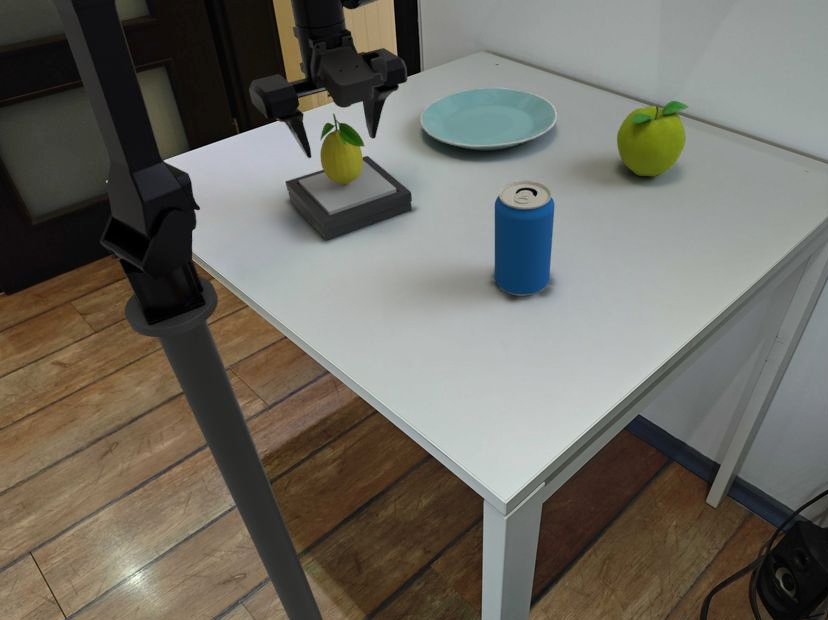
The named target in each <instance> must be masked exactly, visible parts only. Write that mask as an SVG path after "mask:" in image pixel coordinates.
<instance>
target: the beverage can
mask: <svg viewBox="0 0 828 620" xmlns="http://www.w3.org/2000/svg"><path fill="white" fill-rule="evenodd" d="M498 191H499V192H498V196H497V197H496V199H495V202H494V282H495V284H496V285H497V286H498V288H499V289H500V290H503V291H504V292H506V293H508V294H510V295H513V296H517V297H527V296H531V295H535V294H537V293H539V292H541V291H543V290H544V289H545V288H546V287H547V286H548V284H549V282H550V276H551V273H550V272H551V263H552V262H551V259H552V246H553V235H554V234H553V233H554V221H555V220H554V219H555V205H556V204H555V201H554V199H553V197H552V192H551V189H550V188H549V187H548V186H546V185H545V184H543V183H540V182H539V181H533V180H516V181H512V182H509V183H506V184H504V185H503V186H501V188H500V190H498Z"/></svg>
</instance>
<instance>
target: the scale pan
mask: <svg viewBox="0 0 828 620" xmlns="http://www.w3.org/2000/svg"><path fill="white" fill-rule="evenodd" d="M299 185H300V187H301V188H302V189H303V190H304V191H305V192H306V193H307V194H308V195H309V196H310V197H311V198H312V199H313V200H314V201H315V203H316V204H317V205H318V206H319V207H320V208H321V209H322V210H323V211H324V212H325V213H326V214H327V215H328V216H329V215H332V214H335V213H338V212H341V211H344V210H347V209H350V208H352V207H355V206H358V205H361V204H364V203H367V202H370V201H373V200H376V199H379V198H381V197H384V196H387V195H390V194H393V193H396V192H397V190H396V188H395V187H394V186H393V185H392V184H390V183H389V182H388V181H387V180H386V179H385V178H383V177H382V176H381V175H380V174H379V173H378V172H376V171H375V170H374V169H373V168H372V167H370V166H369V165H368V164H367V163H366V162H365V161H363V167H362V171H361V173H360V175H359V176H358V178H357V179H355V180H354V181H351V182H349V184H346V185H345V184H343V183H337V182H334V181H332V180H331V179H330V178H328V177H327V175H326V174H325V172H324V173H320V174H317V175H314V176H311V177H308V178H305V179H301V180H299Z"/></svg>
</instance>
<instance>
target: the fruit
mask: <svg viewBox="0 0 828 620" xmlns="http://www.w3.org/2000/svg"><path fill="white" fill-rule="evenodd" d="M688 108H689V105H686V104H684V103H683V102H680V101H677V100H672V101H669V102H667V103H666V104H665V105H664V107H659V105H658V104H656V105H651V106H646V107H640V108H636V109H634V110H632V111H631V112H629V114H628V115H627V116H626V117H625V118H624V120H623V122H622V123H621V125H620V126H619V129H618V131H617V137H616V143H617V150H618V154H619V156H620V159H621V160H622V162H623V164H624V165H625V166H626V167H627V168H628V169H629V170H630V171H631V172H633V174H635V175H637V176H638V177H639V176H640V177H657V176H660V175H661V174H664V173H666V172H667V171H668V170H669V169H671V168H672V167H673V166H674V165H675V164H676V162H677V161H678V160H679V158H680V156H681V155H682V152H683V150H684V148H685V145H686V130H685V127H684V124H683V122H682V119H681V117H680V115H679V114H678V112H679V111H682V110H686V109H688Z"/></svg>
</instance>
